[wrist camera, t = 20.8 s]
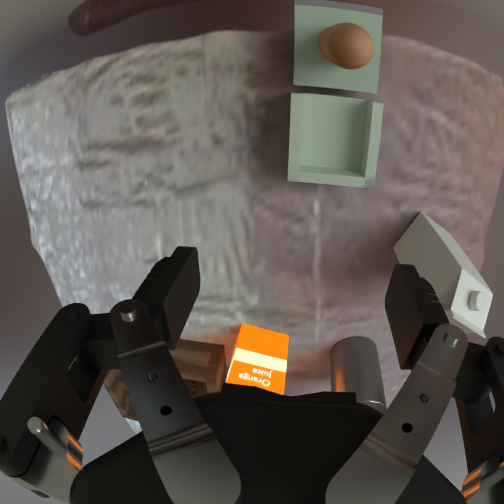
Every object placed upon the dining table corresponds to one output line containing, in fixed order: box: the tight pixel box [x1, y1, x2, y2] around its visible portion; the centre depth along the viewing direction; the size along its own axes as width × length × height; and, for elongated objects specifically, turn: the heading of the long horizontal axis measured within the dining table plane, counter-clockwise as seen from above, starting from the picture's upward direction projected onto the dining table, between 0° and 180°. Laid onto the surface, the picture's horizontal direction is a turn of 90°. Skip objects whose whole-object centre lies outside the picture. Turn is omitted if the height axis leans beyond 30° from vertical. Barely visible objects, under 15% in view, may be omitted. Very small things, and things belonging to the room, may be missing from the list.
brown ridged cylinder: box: [319, 22, 374, 70], centre depth 24 cm, size 5×5×8 cm
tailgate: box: [294, 0, 383, 94], centre depth 28 cm, size 1×10×11 cm
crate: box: [288, 92, 383, 189], centre depth 34 cm, size 10×10×6 cm
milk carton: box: [393, 212, 493, 338], centre depth 34 cm, size 7×7×19 cm
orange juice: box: [226, 323, 289, 395], centre depth 49 cm, size 8×9×20 cm
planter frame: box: [103, 339, 227, 421], centre depth 65 cm, size 28×28×8 cm
